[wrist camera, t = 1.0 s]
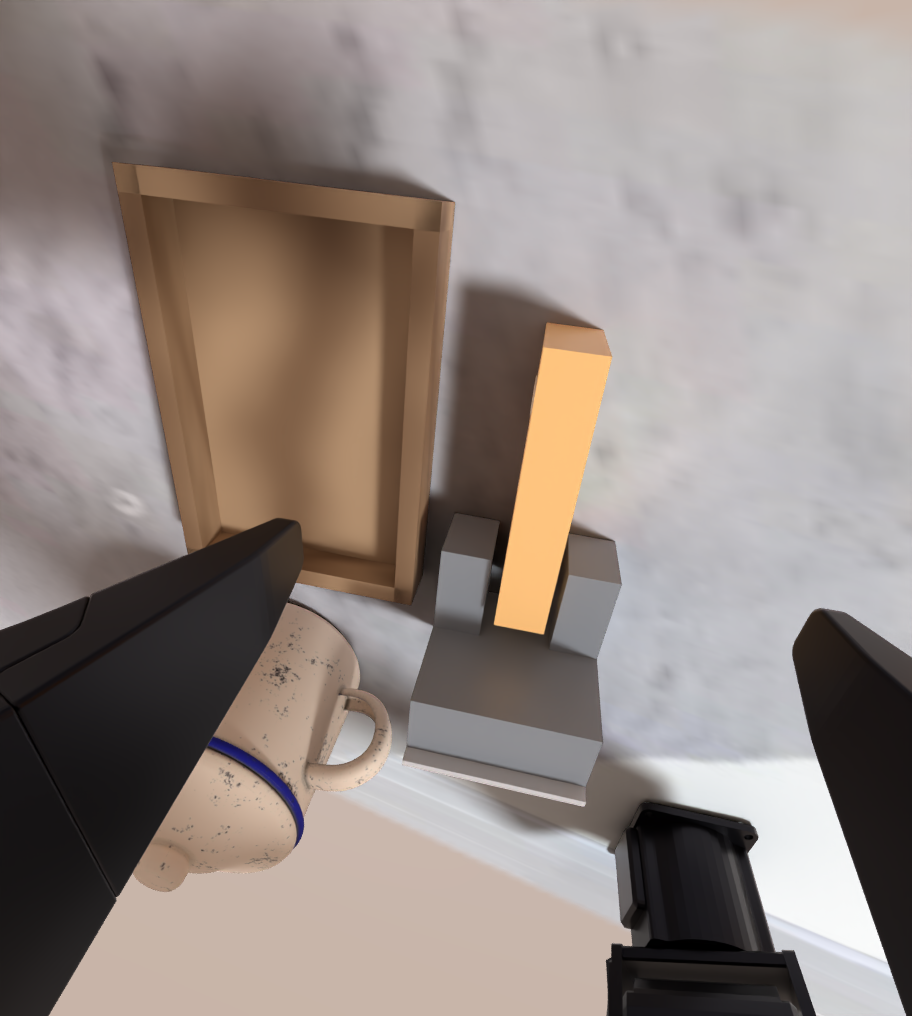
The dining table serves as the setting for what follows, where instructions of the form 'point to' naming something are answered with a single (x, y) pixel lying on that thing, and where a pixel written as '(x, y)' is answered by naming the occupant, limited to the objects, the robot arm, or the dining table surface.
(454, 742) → the grey slotted holder
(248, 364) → the tray
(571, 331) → the tan elongated block
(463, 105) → the dining table surface
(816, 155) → the dining table surface
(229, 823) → the teacup with lid
